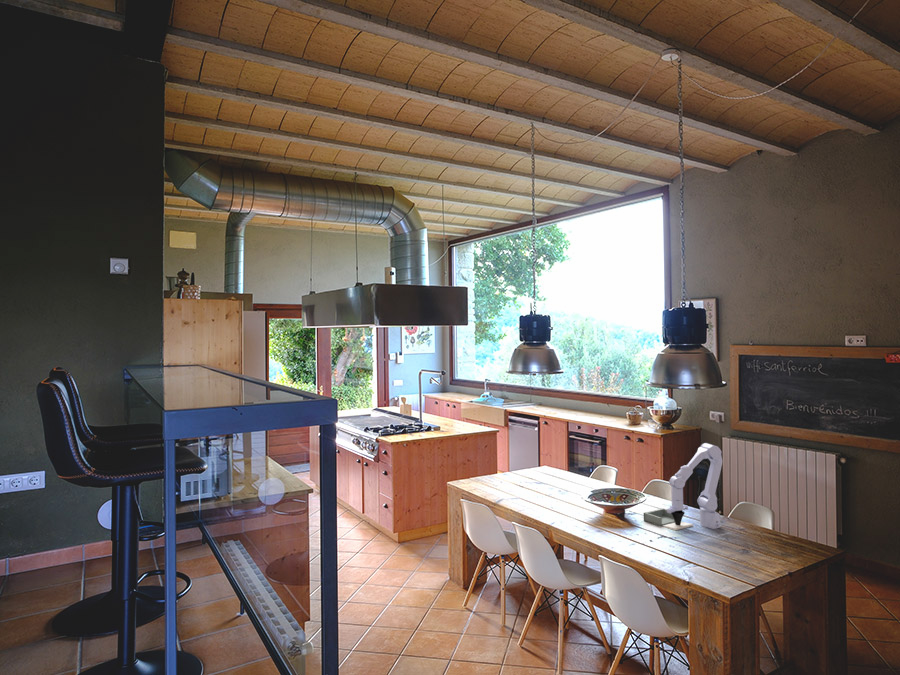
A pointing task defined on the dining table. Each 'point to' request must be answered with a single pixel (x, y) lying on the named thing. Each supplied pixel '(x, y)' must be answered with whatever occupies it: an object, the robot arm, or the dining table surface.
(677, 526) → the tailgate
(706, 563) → the dining table surface
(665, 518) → the cart bed
